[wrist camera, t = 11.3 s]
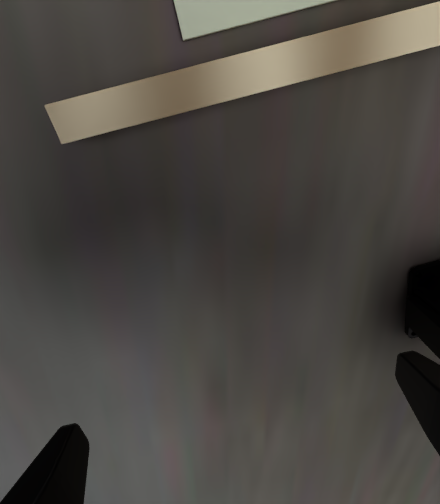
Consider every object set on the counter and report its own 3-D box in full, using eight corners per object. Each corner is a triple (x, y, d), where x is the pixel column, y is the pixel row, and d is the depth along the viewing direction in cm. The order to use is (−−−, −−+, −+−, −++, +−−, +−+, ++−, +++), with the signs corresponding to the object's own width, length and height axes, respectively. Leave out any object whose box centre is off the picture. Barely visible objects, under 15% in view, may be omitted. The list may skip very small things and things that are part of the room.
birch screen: (549, -24, 15) (644, -53, 12) (542, 14, 16) (629, -5, 13) (71, 102, 15) (43, 105, 12) (84, 133, 16) (61, 144, 13)
